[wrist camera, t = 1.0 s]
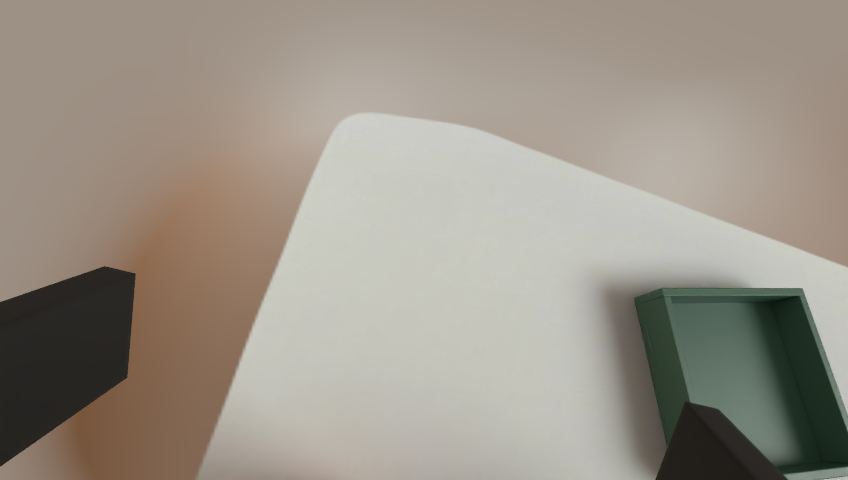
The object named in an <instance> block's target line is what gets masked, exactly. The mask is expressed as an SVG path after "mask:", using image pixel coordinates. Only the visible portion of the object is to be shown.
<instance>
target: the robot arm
mask: <svg viewBox="0 0 848 480" xmlns="http://www.w3.org/2000/svg"><path fill="white" fill-rule="evenodd" d="M134 287H135V273H131V272H126V271H122V270H118V269H114V268H109V267H101V268H99V269H96V270H93V271H90V272H87V273H84V274H81V275H78V276H75V277H72V278H69V279H66V280H63V281H60V282H58V283H55V284H52V285H49V286H46V287H43V288H40V289H37V290H34V291H31V292H29V293H25V294H23V295H20V296H17V297H14V298H11V299H8V300H5V301H2V302H0V466H2V465H3V464H5V463H6V462H7V461H9V460H10V459H12V458H13V457H14V456H16V455H17V454H19V453H20V452H22V451H23V450H25V449H26V448H27V447H29V446H30V445H31V444H33V443H35V442H36V441H37V440H39V439H40V438H42V437H43V436H45V435H46V434H47V433H49V432H50V431H52V430H53V429H54V428H56V427H57V426H59V425H60V424H62V423H63V422H64V421H66V420H67V419H69V418H70V417H72V416H73V415H74V414H76V413H77V412H79V411H80V410H82V409H83V408H84V407H86V406H87V405H89V404H90V403H91V402H93V401H94V400H96V399H97V398H99V397H100V396H101V395H103V394H104V393H106V392H107V391H108V390H110V389H111V388H113V387H114V386H116V385H117V384H118V383H120V382H121V381H123V380H124V379H126V378H127V373H128V361H129V349H130V336H131V324H132V311H133V298H134ZM656 480H788V479H787V478H786V477H785V476H784V475H783V474H782V473H781V472H780V471H779V470H778V469H777V468H776V467H775V466H774V465H773V464H772V463H771V462H770V461H769V460H768V459H767V458H766V457H765V456H764V455H763V453H762V452H761V451H760V450H759V449H758V448H757V447H756V446H755V445H754V444H753V443H752V442H751V441H750V440H749V439H748V438H747V437H746V436H745V435H744V434H743V433H742V432H741V431H740V430H739V429H738V428H737V427H736V426H735V425H734V424H733V423H732V422H731V421H730V420H729V419H728V418H727V417H726V416H725V415H724V414H723V413H722V412H721V411H720V410H719V409H717V408H712V407H708V406H704V405H699V404H695V403H691V402H686V401H685V403H684V406H683V408H682V411H681V414H680V416H679V419H678V422H677V424H676V427H675V430H674V432H673V435H672V438H671V440H670V443H669V445H668V448H667V451H666V453H665V456H664V459H663V461H662V464H661V467H660V469H659V472H658V475H657V477H656Z"/></svg>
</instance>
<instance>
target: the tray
mask: <svg viewBox="0 0 848 480" xmlns="http://www.w3.org/2000/svg"><path fill="white" fill-rule="evenodd" d="M635 303H636V308H637V312H638V317H639V321H640V325H641V330H642V334H643V339H644V343H645V348H646V352H647V357H648V361H649V366H650V370H651V375H652V379H653V384H654V388H655V392H656V397H657V401H658V406H659V410H660V415H661V419H662V424H663V428H664V433H665V437H666V442H667V446H668V445H669V443H670V440H671V438H672V435H673V432H674V430H675V427H676V424H677V422H678V419H679V416H680V414H681V411H682V408H683V406H684V403H685V401H686V402H691V403H695V404H699V405H704V406H708V407H712V408H717V409H719V410H720V411H721V412H722V413H723V414H724V415H725V416H726V417H727V418H728V419H729V420H730V421H731V422H732V423H733V424H734V425H735V426H736V427H737V428H738V429H739V430H740V431H741V432H742V433H743V434H744V435H745V436H746V437H747V438H748V439H749V440H750V441H751V442H752V443H753V444H754V445H755V446H756V447H757V448H758V449H759V450H760V451H761V452H762V453H763V455H764V456H765V457H766V458H767V459H768V460H769V461H770V462H771V463H772V464H773V465H774V466H775V467H776V468H777V469H778V470H779V471H780V472H781V473H782V474H783V475H784V476H785V477H786V478H787V479H788V480H821V479H829V478H836V477H844V476H848V415H847V412H846V409H845V406H844V404H843V401H842V398H841V395H840V392H839V390H838V387H837V384H836V381H835V378H834V376H833V373H832V370H831V367H830V364H829V362H828V359H827V356H826V353H825V350H824V348H823V345H822V342H821V339H820V336H819V334H818V331H817V328H816V325H815V322H814V320H813V317H812V314H811V311H810V308H809V306H808V303H807V300H806V297H805V294H804V291H803V289H802V288H661V289H658V290H655V291H652V292H650V293H647V294H644V295H641V296H639V297H636V298H635Z"/></svg>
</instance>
